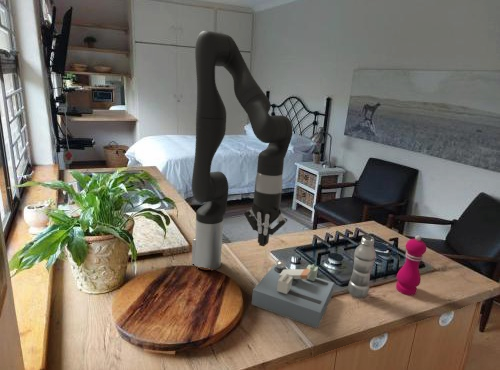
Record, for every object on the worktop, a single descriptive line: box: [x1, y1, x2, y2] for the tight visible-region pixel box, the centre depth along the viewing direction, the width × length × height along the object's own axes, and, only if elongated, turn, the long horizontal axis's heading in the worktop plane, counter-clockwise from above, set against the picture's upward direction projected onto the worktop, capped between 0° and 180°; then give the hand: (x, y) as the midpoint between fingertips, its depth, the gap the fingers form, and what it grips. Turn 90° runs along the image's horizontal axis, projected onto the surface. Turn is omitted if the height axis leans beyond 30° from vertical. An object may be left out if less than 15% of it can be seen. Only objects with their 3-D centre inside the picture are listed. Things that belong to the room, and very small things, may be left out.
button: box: [276, 259, 287, 271], centre depth 114 cm, size 3×3×2 cm
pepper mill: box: [395, 234, 427, 296], centre depth 115 cm, size 7×7×20 cm
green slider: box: [305, 263, 319, 281], centre depth 110 cm, size 3×3×4 cm
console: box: [251, 264, 335, 329], centre depth 107 cm, size 20×17×6 cm
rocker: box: [279, 268, 311, 279], centre depth 108 cm, size 9×5×1 cm, turn 65°
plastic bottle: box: [347, 235, 377, 299], centre depth 110 cm, size 6×7×20 cm
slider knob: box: [277, 274, 293, 294], centre depth 103 cm, size 3×4×4 cm
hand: (262, 245), depth 103 cm, fingers closed
